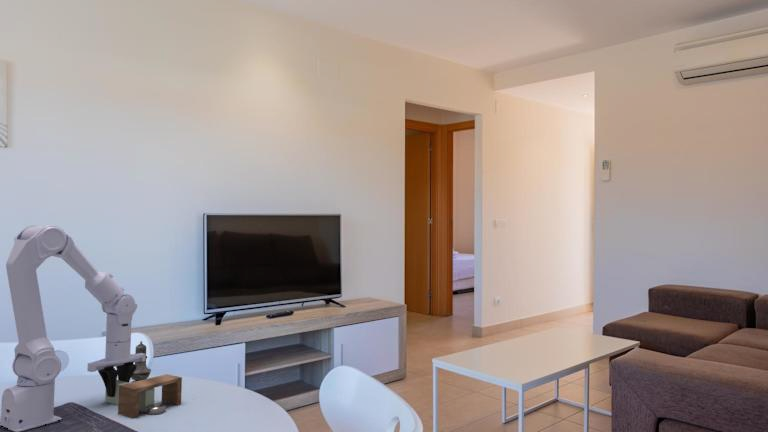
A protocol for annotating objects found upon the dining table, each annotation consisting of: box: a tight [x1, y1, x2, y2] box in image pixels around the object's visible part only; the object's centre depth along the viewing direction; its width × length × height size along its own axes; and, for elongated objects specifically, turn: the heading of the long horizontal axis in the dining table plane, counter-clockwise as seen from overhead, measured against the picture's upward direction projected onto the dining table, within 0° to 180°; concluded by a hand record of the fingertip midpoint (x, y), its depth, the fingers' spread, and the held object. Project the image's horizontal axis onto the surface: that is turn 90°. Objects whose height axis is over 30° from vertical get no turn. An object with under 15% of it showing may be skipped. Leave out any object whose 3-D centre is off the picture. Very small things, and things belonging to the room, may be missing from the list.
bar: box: [104, 379, 156, 413], centre depth 133 cm, size 2×16×5 cm, turn 59°
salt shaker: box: [130, 340, 152, 383], centre depth 153 cm, size 6×6×12 cm
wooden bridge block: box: [117, 373, 183, 419], centre depth 130 cm, size 13×6×7 cm, turn 149°
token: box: [145, 403, 166, 416], centre depth 128 cm, size 4×4×2 cm
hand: (116, 394), depth 136 cm, fingers open, 2 cm apart
